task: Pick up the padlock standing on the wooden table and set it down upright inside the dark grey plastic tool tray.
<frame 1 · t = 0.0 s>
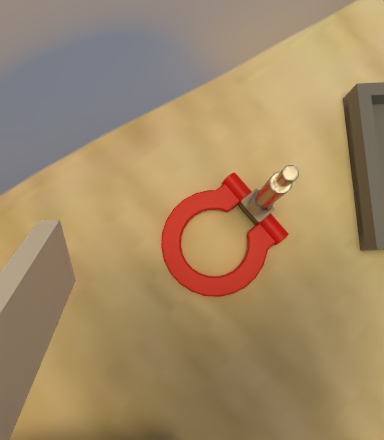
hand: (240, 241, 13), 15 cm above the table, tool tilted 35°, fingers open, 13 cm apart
tow hook: (217, 240, 29), on the table
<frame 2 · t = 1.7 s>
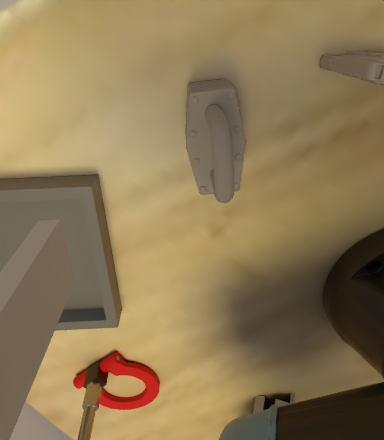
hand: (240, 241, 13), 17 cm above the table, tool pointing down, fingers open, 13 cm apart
padlock: (210, 127, 28), on the table
tool tray: (42, 252, 33), on the table
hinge: (264, 430, 48), on the table
tow hook: (122, 379, 42), on the table
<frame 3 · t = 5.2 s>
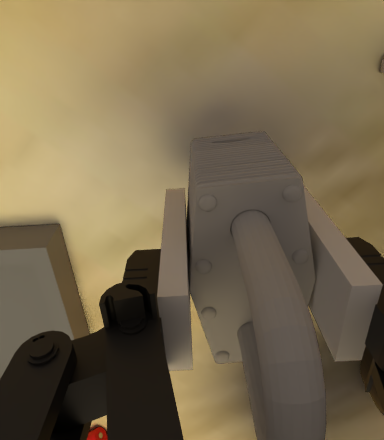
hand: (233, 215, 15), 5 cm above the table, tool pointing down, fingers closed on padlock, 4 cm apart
padlock: (231, 211, 15), point 5 cm above the table, touching gripper
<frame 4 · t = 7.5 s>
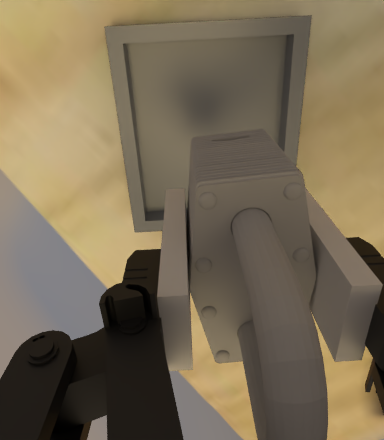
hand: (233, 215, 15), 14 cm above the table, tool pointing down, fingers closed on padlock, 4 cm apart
padlock: (231, 210, 15), point 14 cm above the table, touching gripper
tool tray: (208, 130, 27), on the table
when the fingers open (2 cm above the table, at t = 10.3 s): padlock stays where it is, resting on tool tray.
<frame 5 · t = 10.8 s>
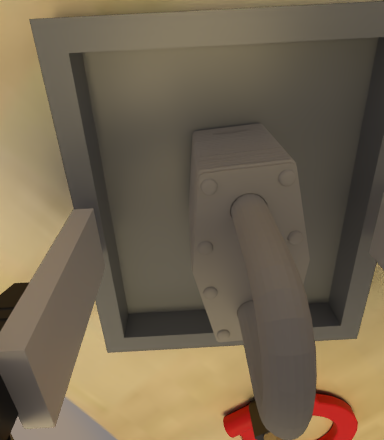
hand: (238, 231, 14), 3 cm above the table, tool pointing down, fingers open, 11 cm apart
padlock: (231, 200, 16), point 1 cm above the table, touching tool tray
tool tray: (227, 194, 17), on the table
tow hook: (292, 418, 26), on the table
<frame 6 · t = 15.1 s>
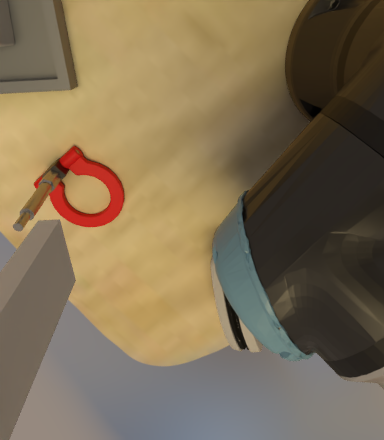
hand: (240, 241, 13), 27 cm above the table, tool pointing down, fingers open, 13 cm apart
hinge: (241, 271, 47), on the table
tow hook: (86, 189, 41), on the table
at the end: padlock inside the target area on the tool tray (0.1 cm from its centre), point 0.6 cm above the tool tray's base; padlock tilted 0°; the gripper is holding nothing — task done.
